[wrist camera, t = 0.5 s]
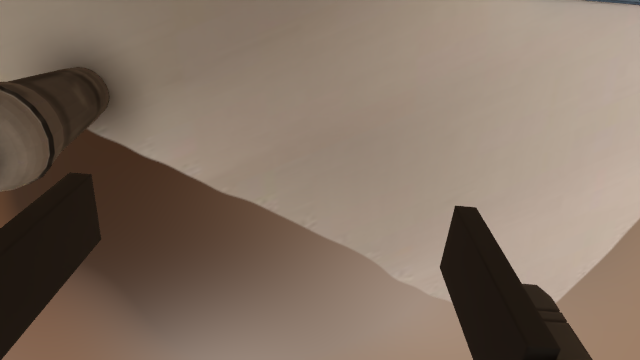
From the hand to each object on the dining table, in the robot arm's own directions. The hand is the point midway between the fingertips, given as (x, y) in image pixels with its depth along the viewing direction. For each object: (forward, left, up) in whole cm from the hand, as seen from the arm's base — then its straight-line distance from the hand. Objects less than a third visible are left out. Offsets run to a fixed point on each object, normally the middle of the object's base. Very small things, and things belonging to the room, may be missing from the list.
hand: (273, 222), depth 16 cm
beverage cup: (+3, -20, -25) cm, 32 cm away
